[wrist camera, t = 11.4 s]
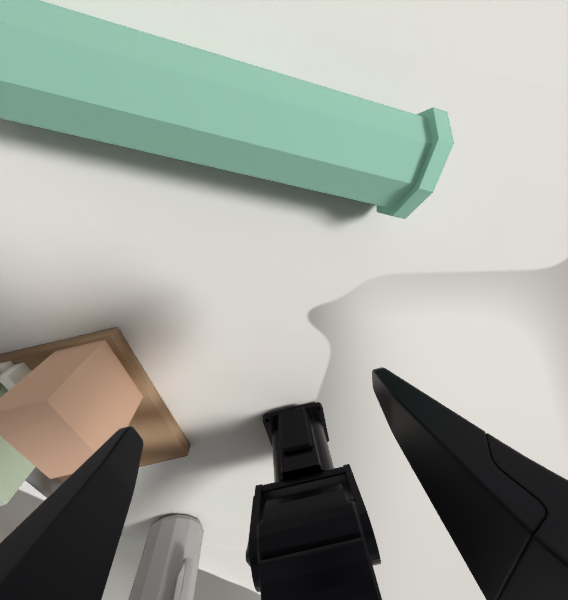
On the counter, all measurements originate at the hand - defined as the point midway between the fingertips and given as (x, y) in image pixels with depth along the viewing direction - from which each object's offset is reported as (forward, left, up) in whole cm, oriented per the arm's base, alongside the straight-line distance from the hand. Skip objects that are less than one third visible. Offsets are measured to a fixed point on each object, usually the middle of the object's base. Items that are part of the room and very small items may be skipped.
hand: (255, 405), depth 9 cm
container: (+11, 0, -12) cm, 17 cm away
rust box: (-4, +15, -11) cm, 19 cm away
